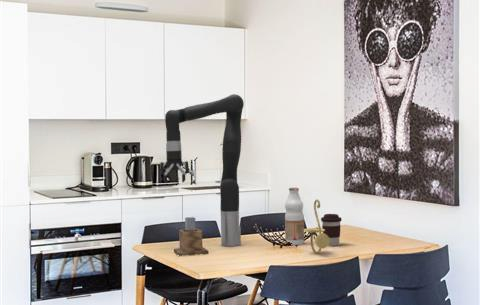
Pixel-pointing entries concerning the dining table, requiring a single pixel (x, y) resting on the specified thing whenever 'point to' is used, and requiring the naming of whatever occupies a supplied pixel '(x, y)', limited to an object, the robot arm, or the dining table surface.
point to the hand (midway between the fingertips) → (174, 182)
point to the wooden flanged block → (190, 243)
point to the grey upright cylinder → (190, 224)
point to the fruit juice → (294, 218)
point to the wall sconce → (322, 238)
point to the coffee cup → (332, 228)
